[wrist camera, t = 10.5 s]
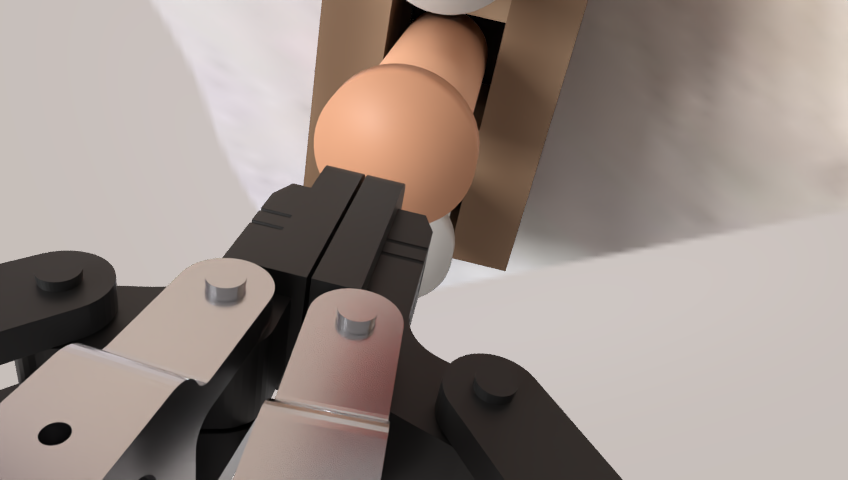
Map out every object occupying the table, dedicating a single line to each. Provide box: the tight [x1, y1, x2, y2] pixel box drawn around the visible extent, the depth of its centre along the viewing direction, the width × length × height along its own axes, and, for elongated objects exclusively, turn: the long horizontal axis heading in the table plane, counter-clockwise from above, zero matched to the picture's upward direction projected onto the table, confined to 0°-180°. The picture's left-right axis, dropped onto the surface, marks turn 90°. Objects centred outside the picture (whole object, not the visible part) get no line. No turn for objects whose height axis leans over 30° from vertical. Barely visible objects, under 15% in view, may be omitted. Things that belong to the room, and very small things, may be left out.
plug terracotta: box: [314, 11, 488, 223], centre depth 19 cm, size 4×4×9 cm
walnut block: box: [304, 0, 588, 271], centre depth 24 cm, size 8×14×5 cm, turn 169°
